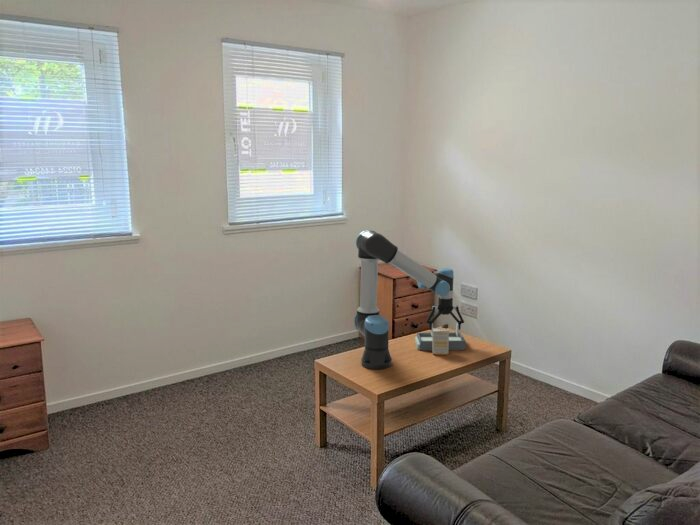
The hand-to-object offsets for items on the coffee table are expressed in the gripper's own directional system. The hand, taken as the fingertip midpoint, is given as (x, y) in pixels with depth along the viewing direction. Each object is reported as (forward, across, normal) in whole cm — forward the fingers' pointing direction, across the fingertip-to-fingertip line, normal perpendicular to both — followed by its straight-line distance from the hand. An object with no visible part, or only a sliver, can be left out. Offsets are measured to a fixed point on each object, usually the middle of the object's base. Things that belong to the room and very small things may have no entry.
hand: (444, 335), depth 298 cm
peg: (+6, 0, 0) cm, 6 cm away
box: (+6, -2, 0) cm, 6 cm away
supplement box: (+6, -4, -12) cm, 14 cm away
